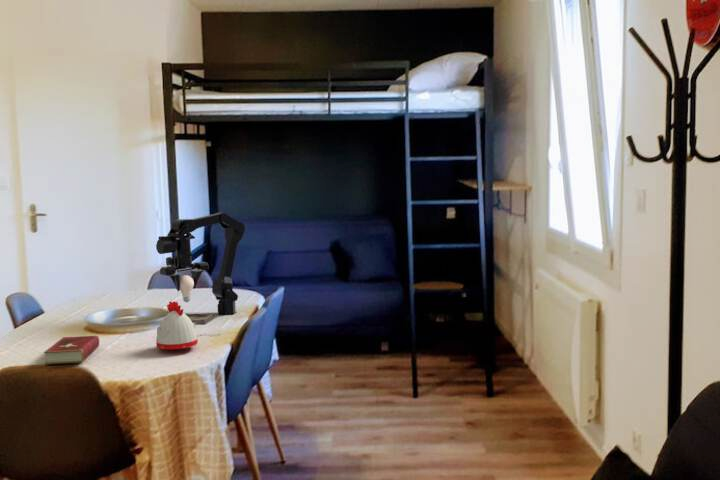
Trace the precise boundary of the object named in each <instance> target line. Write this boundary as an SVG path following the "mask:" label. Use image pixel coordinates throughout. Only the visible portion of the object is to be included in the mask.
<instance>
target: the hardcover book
mask: <svg viewBox="0 0 720 480" xmlns="http://www.w3.org/2000/svg"><path fill="white" fill-rule="evenodd" d="M99 347H100V337H99V335H98V334H97V335H79V336H78V335H77V336H63V337H61V338H60V339H59V340H58V341H56V342H55V343H53V344H52V345H51V346H50V347H48V348H47V349H45V350H44V351H43V354H45V362H44V365H57V364H70V363H71V364H72V363H83V362H84V361H85V360H86V359H87V358H88V357H90V355H92V354H93V352H94V351H96V350H97V348H99Z"/></svg>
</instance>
